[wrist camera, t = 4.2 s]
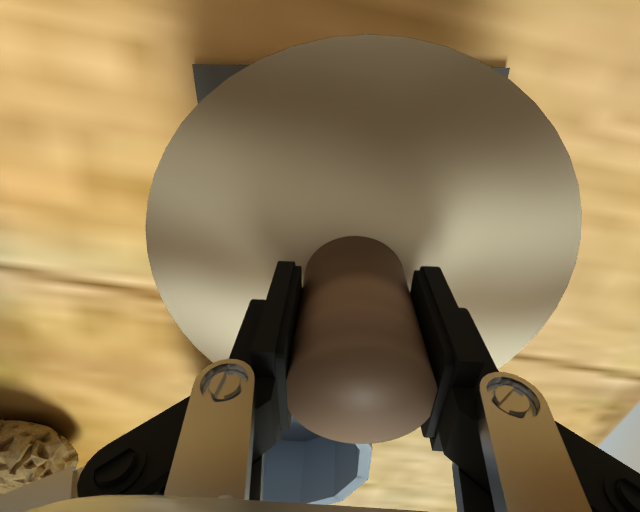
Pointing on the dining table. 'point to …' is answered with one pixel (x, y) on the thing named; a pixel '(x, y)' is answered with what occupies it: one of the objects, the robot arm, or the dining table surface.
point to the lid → (364, 218)
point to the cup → (313, 468)
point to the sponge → (31, 453)
